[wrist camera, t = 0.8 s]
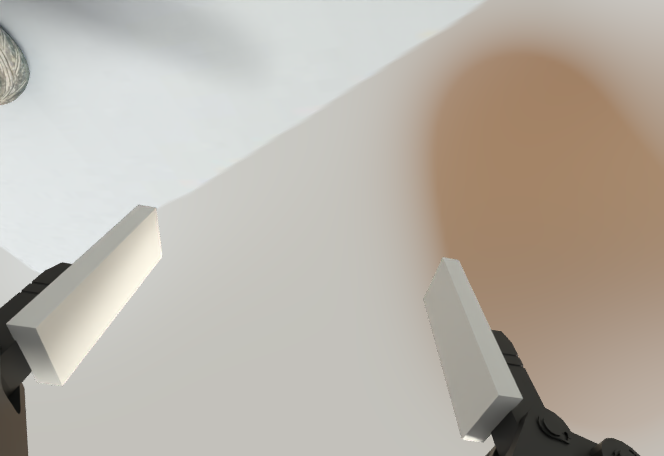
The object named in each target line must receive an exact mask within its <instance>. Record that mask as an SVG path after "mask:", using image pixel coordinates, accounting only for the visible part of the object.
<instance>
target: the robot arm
mask: <svg viewBox="0 0 664 456" xmlns="http://www.w3.org/2000/svg"><path fill="white" fill-rule="evenodd" d="M161 258H162V250H161V242H160V234H159V226H158V218H157V210H156V208H155V207H149V206H143V205H138V206H136V207H135V208H134V209H133V210H132V211H131V212H130V213H129V214H128V215H126V216H125V217H124V218H123V219H122V220H121V221H120V222H119V223H118V224H116V225H115V226H114V227H113V228H112V229H111V230H110V231H109V232H108V233H106V234H105V235H104V236H103V237H102V238H101V239H100V240H99V241H98V242H96V243H95V244H94V245H93V246H92V247H91V248H90V249H89V250H87V251H86V252H85V253H84V254H83V255H82V256H81V257H80V258H79V259H77V260H76V261H75V262H74V263H73V264H68V263H60V264H58V265H56V266H54V267H52V268H50V269H48V270H45V271H44V272H43V273H42V274H40V275H39V276H38V277H37V278H36V279H35V280H33V281H32V284H29V285H27V286H26V287H25V288H24V289H23V290H22V292H21V293H18V294H17V295H16V296H14V297H13V298H12V299H11V300H9V302H7V303H6V304H5V305H4V306H2V307H1V308H0V456H28V445H27V426H26V409H25V392H24V387H23V384H22V382H23V380H24V379H25V378H26V377H27V376H28V375H29V374H30V373H31V372H32V374H33V376H34V378H35V380H36V382H37V383H43V384H51V385H58V386H63V385H64V384H65V382H66V381H67V380H68V378H69V377H70V376H71V374H72V373H73V371H75V369H76V368H77V367H78V365H79V364H80V363H81V361H82V360H83V359H84V357H85V356H86V355H87V354H88V352H89V351H90V350H91V348H92V347H93V346H94V345H95V343H96V342H97V341H98V339H99V338H100V337H101V336H102V334H103V333H104V331H105V330H106V329H107V328H108V326H109V325H110V324H111V323H112V321H113V320H114V319H115V317H116V316H117V315H118V313H119V312H120V311H121V310H122V308H123V307H124V306H125V304H126V303H127V302H128V300H129V299H130V298H131V297H132V295H133V294H134V293H135V291H136V290H137V288H139V286H140V285H141V284H142V282H143V281H144V280H145V278H146V277H147V276H148V274H149V273H150V272H151V271H152V269H153V268H154V267H155V265H156V264H157V263H158V261H159V260H160V259H161ZM423 300H424V303H425V307H426V311H427V314H428V318H429V322H430V325H431V329H432V332H433V336H434V340H435V343H436V347H437V351H438V354H439V358H440V361H441V365H442V369H443V372H444V376H445V379H446V383H447V387H448V391H449V394H450V398H451V401H452V405H453V409H454V412H455V416H456V420H457V423H458V427H459V431H460V434H461V438H462V439H463V440H469V441H477V442H484V441H485V440H486V439H487V438H488V437H489V436H490V434H492V437H493V440H494V443H495V446H494V447H493V448H492V449H491V451H490V452H489V453H488V454H487V455H486V456H640V455H639V454H637V452H635V451H634V450H633V449H632V448H631V447H629V446H628V445H626V444H625V443H623V442H622V441H619V440H616V439H614V438H606V439H605V440H603V441H602V442H601V443H599V444H597V443H594V442H592V441H590V440H588V439H585V438H583V437H581V436H579V435H577V434H574V433H572V432H571V431H570V429H569V428H568V426H567V425H566V424H565V422H564V421H563V420H562V419H561V418H559V417H558V416H557V415H556V414H555V413H554V412H552V411H550V410H548V409H546V408H545V407H544V405H543V403H542V401H541V399H540V397H539V395H538V393H537V391H536V389H535V387H534V386H533V383H532V382H531V380H530V378H529V376H528V374H527V372H526V370H525V368H523V364H522V362H521V360H520V358H518V355H517V352H516V350H515V348H514V346H513V344H512V343H511V342H510V340H508V338H507V337H506V336H505V335H504V334H503V333H502V332H501V331H495V330H491V329H490V327H489V324H488V322H487V320H486V318H485V316H484V314H483V311H482V309H481V307H480V305H479V303H478V301H477V299H476V296H475V294H474V292H473V290H472V288H471V286H470V284H469V281H468V279H467V277H466V275H465V273H464V271H463V268H462V267H461V265H460V262H459V260H456V259H449V258H444V257H443V258H442V260H441V263H440V265H439V267H438V269H437V271H436V273H435V275H434V277H433V279H432V282H431V284H430V286H429V288H428V290H427V292H426V294H425V297H424V299H423Z"/></svg>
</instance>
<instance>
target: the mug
mask: <svg viewBox="0 0 664 456" xmlns="http://www.w3.org/2000/svg"><path fill="white" fill-rule="evenodd" d="M29 74H30V73H29V69H28V65H27V62H26V59H25V57H24V55H23V53H22V52H21V50H20V49H19V48H18V46H17V45H16V43H15V42H14V41H13V39H12V38H11V37H10V36H9V35H8V34H7V33H6V32H5V31H4V30H3V29H2V28H1V27H0V105H4V104H7V103H10V102H12V101H14V100H15V99H16V98H17V97H19V96H20V95H21V94H22V92H23V91H24V90H25V88H26V86H27V83H28V80H29Z"/></svg>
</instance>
